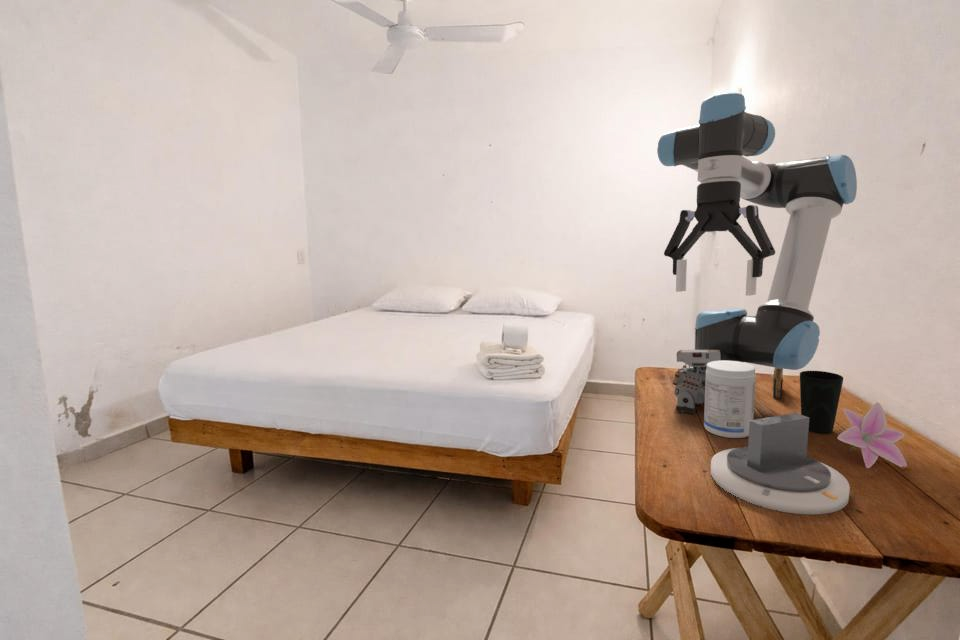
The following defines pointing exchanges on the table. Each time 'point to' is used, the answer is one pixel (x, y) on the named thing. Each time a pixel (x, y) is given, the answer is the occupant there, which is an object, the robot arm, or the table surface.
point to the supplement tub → (729, 398)
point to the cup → (820, 399)
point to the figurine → (692, 377)
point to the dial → (779, 456)
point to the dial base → (782, 491)
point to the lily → (873, 436)
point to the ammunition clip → (777, 383)
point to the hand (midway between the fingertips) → (713, 293)
